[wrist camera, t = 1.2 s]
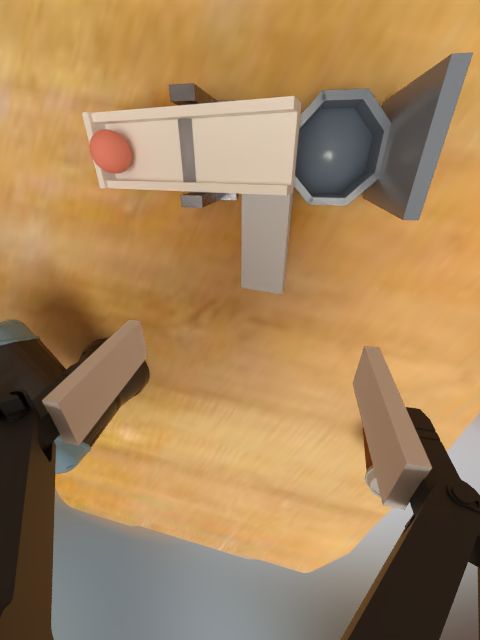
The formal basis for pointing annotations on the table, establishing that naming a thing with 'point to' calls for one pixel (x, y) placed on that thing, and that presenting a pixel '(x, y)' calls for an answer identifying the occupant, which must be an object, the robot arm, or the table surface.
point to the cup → (378, 141)
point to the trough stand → (189, 96)
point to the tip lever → (219, 166)
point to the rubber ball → (110, 151)
